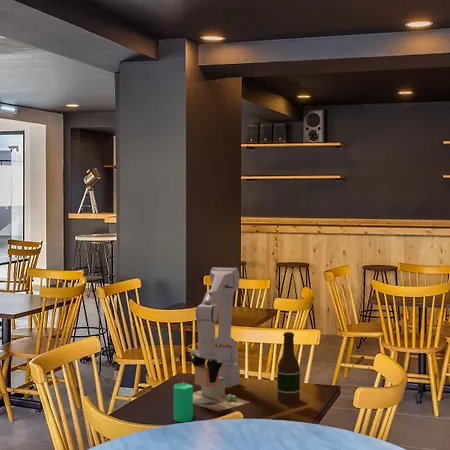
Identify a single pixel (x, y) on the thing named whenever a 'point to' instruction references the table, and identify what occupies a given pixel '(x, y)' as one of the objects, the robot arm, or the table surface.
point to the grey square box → (214, 389)
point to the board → (216, 402)
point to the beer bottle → (288, 373)
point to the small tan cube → (204, 376)
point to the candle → (183, 402)
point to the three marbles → (231, 397)
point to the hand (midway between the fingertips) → (206, 380)
